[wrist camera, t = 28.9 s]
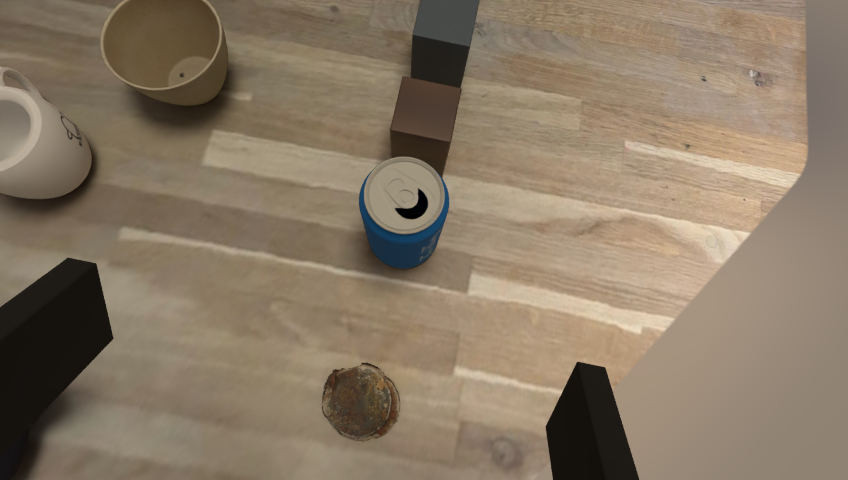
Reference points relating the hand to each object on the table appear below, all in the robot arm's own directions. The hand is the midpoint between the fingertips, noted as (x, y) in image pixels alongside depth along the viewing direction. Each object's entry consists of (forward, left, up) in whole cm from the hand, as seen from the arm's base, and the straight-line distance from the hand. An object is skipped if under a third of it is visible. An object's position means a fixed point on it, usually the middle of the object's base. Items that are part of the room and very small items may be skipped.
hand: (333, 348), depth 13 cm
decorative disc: (-2, +4, -30) cm, 30 cm away
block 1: (+18, -22, -30) cm, 41 cm away
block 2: (+12, -15, -30) cm, 36 cm away
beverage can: (+7, -8, -30) cm, 32 cm away
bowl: (+32, -2, -30) cm, 44 cm away
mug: (+34, +12, -30) cm, 47 cm away
